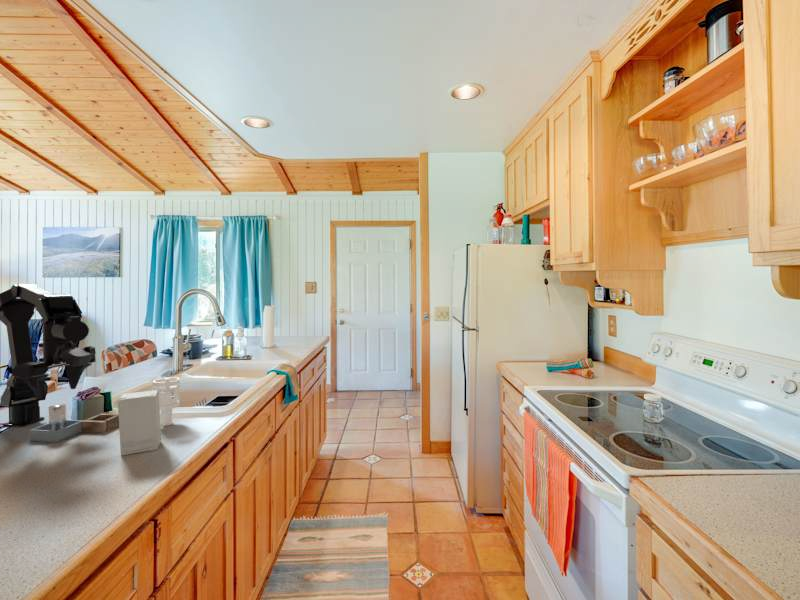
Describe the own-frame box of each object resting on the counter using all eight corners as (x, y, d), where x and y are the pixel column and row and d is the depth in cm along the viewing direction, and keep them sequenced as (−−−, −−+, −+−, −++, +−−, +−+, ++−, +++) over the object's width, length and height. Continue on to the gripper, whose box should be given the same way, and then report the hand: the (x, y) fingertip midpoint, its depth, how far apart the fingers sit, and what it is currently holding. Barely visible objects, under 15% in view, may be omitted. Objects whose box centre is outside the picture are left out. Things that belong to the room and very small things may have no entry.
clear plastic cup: (153, 430, 107) (153, 380, 107) (151, 422, 113) (151, 375, 112) (181, 424, 112) (181, 377, 111) (178, 418, 117) (177, 372, 117)
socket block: (81, 431, 105) (81, 421, 105) (101, 422, 112) (101, 413, 112) (103, 432, 105) (103, 422, 105) (121, 423, 111) (121, 414, 111)
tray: (29, 440, 98) (29, 430, 98) (58, 429, 106) (58, 419, 106) (57, 441, 98) (57, 431, 98) (83, 430, 106) (83, 420, 106)
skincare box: (161, 441, 99) (161, 388, 99) (157, 451, 94) (157, 394, 94) (123, 447, 96) (123, 392, 95) (117, 457, 90) (117, 398, 90)
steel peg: (45, 436, 100) (45, 407, 100) (58, 431, 104) (57, 403, 104) (57, 436, 100) (57, 408, 100) (69, 431, 104) (69, 404, 103)
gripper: (50, 345, 92) (51, 405, 92) (112, 335, 110) (112, 385, 111) (9, 343, 92) (10, 403, 93) (77, 334, 111) (78, 384, 111)
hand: (57, 393), depth 102 cm, fingers open, 9 cm apart
